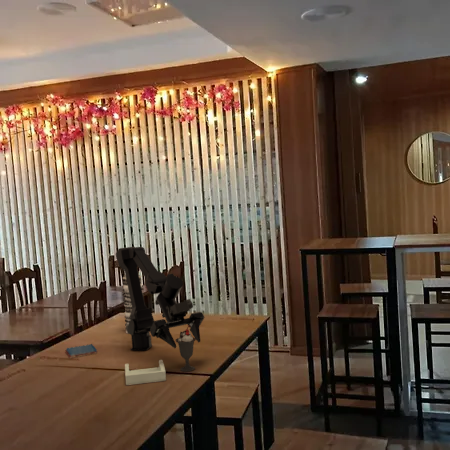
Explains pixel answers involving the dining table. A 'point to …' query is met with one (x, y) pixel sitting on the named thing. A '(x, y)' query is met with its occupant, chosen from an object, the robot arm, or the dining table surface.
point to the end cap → (145, 374)
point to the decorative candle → (128, 301)
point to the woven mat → (81, 351)
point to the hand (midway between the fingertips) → (187, 344)
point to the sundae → (186, 348)
